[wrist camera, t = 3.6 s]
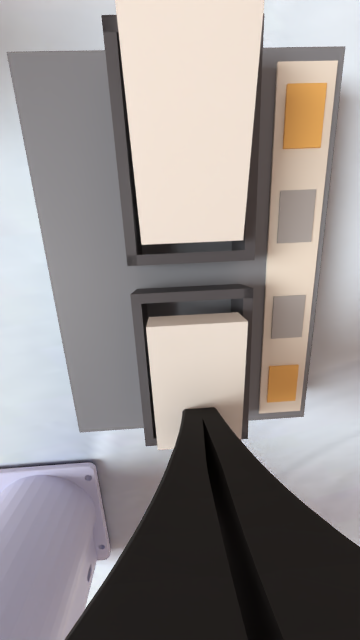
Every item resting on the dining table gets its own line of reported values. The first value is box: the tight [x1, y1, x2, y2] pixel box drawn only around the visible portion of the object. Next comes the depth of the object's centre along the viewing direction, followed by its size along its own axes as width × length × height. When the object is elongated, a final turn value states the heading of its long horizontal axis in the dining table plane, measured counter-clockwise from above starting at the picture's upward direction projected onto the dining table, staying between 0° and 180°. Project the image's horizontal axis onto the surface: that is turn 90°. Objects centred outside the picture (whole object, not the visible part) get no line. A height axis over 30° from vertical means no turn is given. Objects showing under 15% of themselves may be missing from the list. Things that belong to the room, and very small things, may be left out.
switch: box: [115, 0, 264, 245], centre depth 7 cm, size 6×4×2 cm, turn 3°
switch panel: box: [7, 13, 345, 446], centre depth 11 cm, size 17×13×4 cm
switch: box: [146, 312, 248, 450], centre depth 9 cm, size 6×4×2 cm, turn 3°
